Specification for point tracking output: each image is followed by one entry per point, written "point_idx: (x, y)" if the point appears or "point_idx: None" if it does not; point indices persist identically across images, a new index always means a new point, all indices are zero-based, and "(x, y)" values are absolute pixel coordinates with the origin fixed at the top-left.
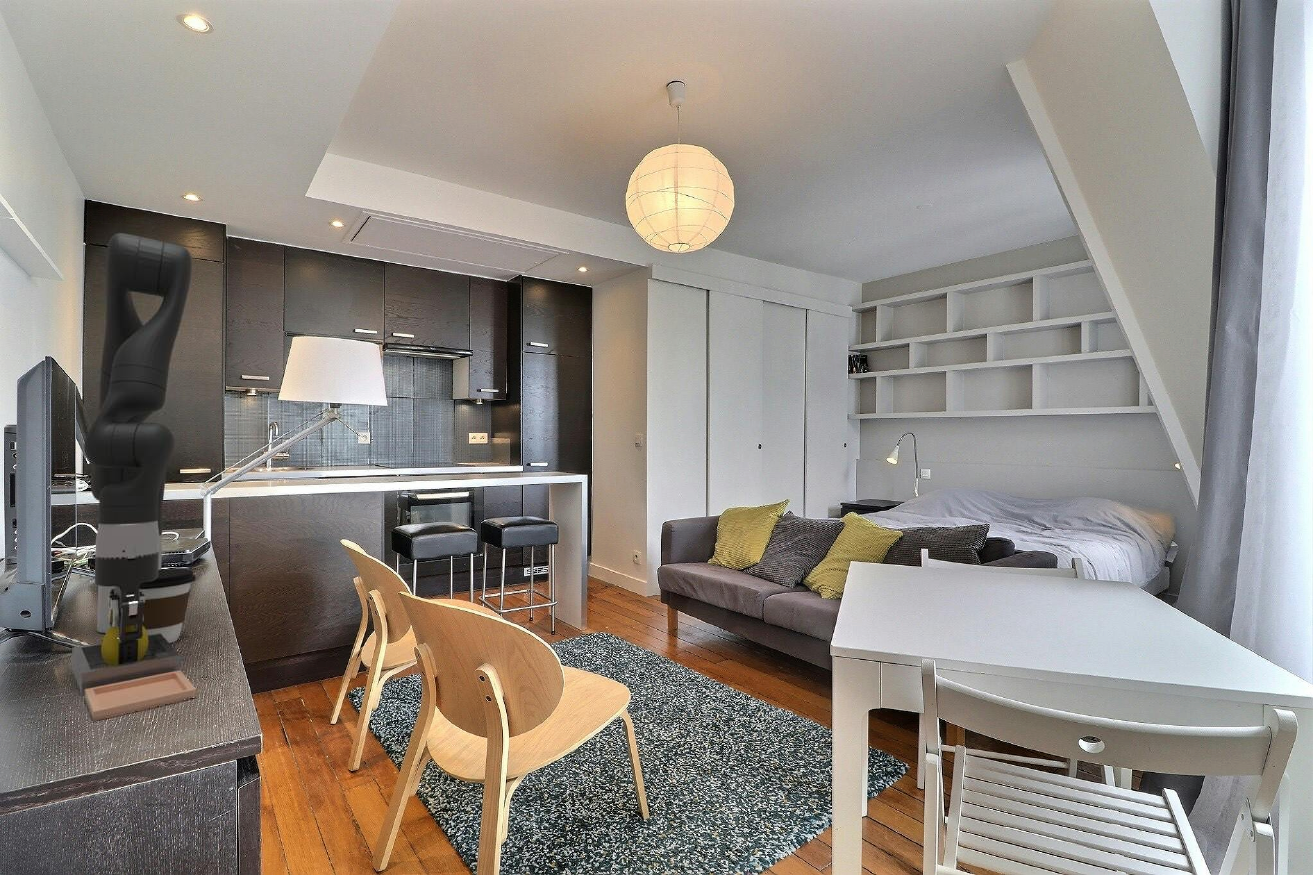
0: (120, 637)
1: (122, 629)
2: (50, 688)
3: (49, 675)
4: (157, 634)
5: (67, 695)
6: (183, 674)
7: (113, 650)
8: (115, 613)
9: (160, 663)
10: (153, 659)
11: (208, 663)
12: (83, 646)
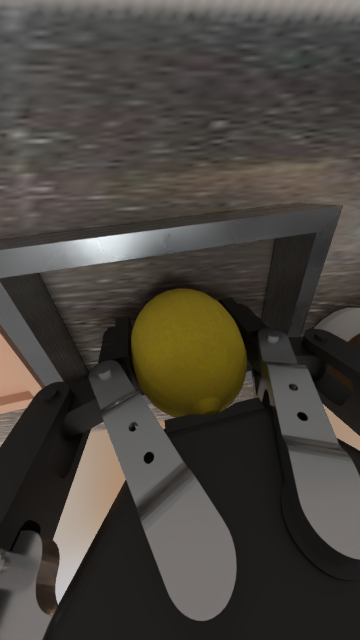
0: (41, 398)
1: (5, 443)
2: (116, 153)
3: (264, 147)
4: None
5: (11, 204)
6: (16, 409)
7: (136, 328)
8: (124, 472)
9: None
10: None
11: None
12: (324, 237)
